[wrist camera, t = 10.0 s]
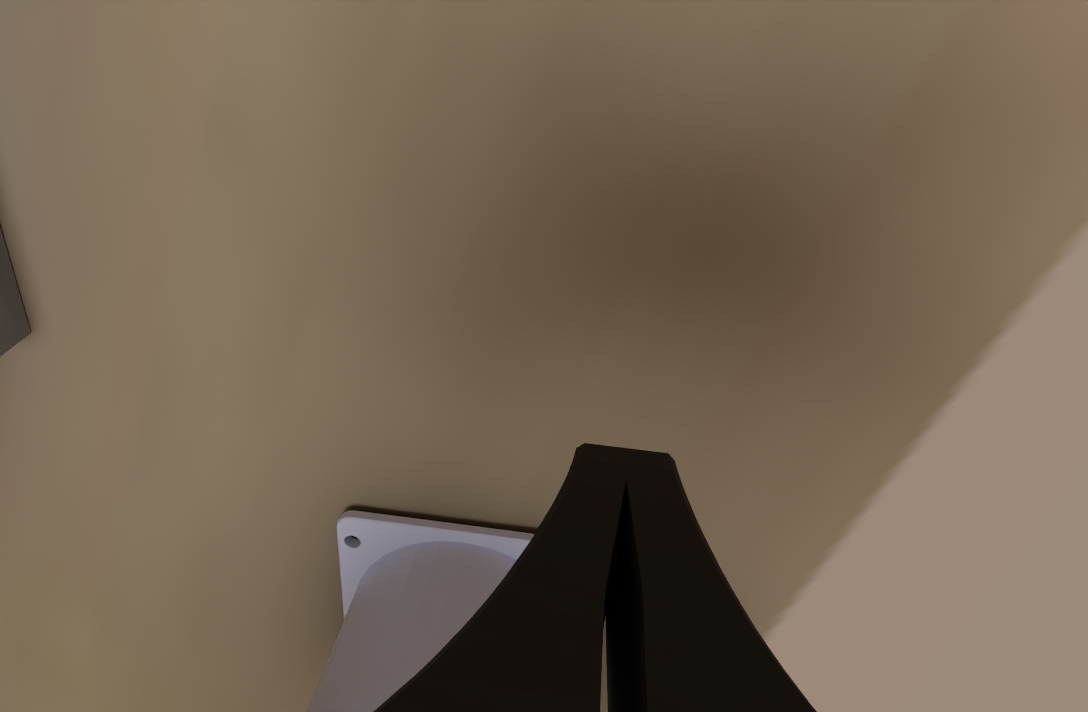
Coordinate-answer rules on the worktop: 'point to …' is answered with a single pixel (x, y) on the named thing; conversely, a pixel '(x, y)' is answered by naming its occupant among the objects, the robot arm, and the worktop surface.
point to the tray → (10, 305)
